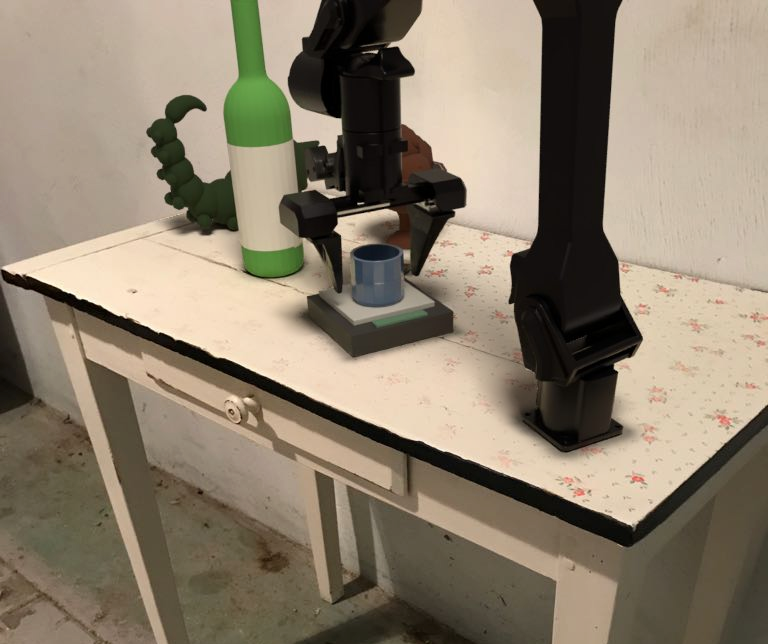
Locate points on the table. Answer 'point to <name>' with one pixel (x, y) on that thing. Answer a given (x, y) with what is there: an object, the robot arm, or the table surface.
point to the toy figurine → (187, 186)
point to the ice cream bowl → (411, 162)
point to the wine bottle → (260, 153)
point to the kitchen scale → (379, 319)
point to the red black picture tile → (406, 266)
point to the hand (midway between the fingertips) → (377, 283)
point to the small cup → (377, 274)
